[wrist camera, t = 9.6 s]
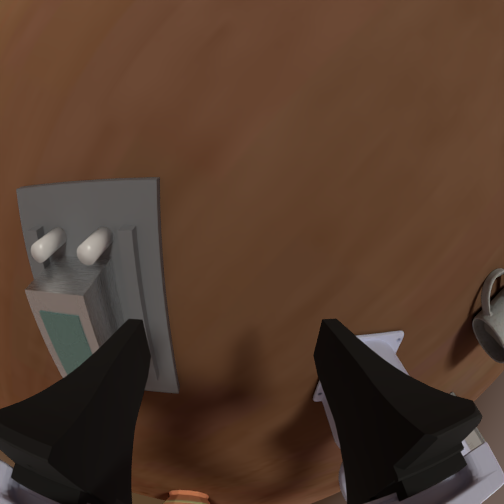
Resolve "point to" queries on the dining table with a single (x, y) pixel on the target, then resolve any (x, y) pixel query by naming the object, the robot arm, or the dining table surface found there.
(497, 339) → the ceramic mug
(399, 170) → the dining table surface
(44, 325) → the block
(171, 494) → the potted cactus
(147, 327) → the grooved peg plate
